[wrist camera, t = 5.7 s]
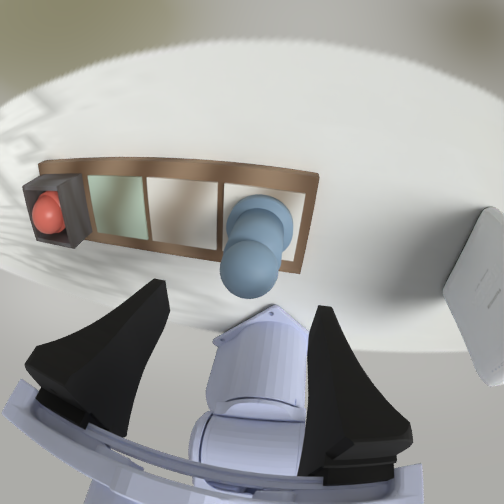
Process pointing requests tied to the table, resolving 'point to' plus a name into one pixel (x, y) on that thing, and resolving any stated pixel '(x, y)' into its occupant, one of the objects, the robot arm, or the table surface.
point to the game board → (167, 203)
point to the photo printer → (481, 296)
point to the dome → (48, 213)
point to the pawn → (255, 245)
